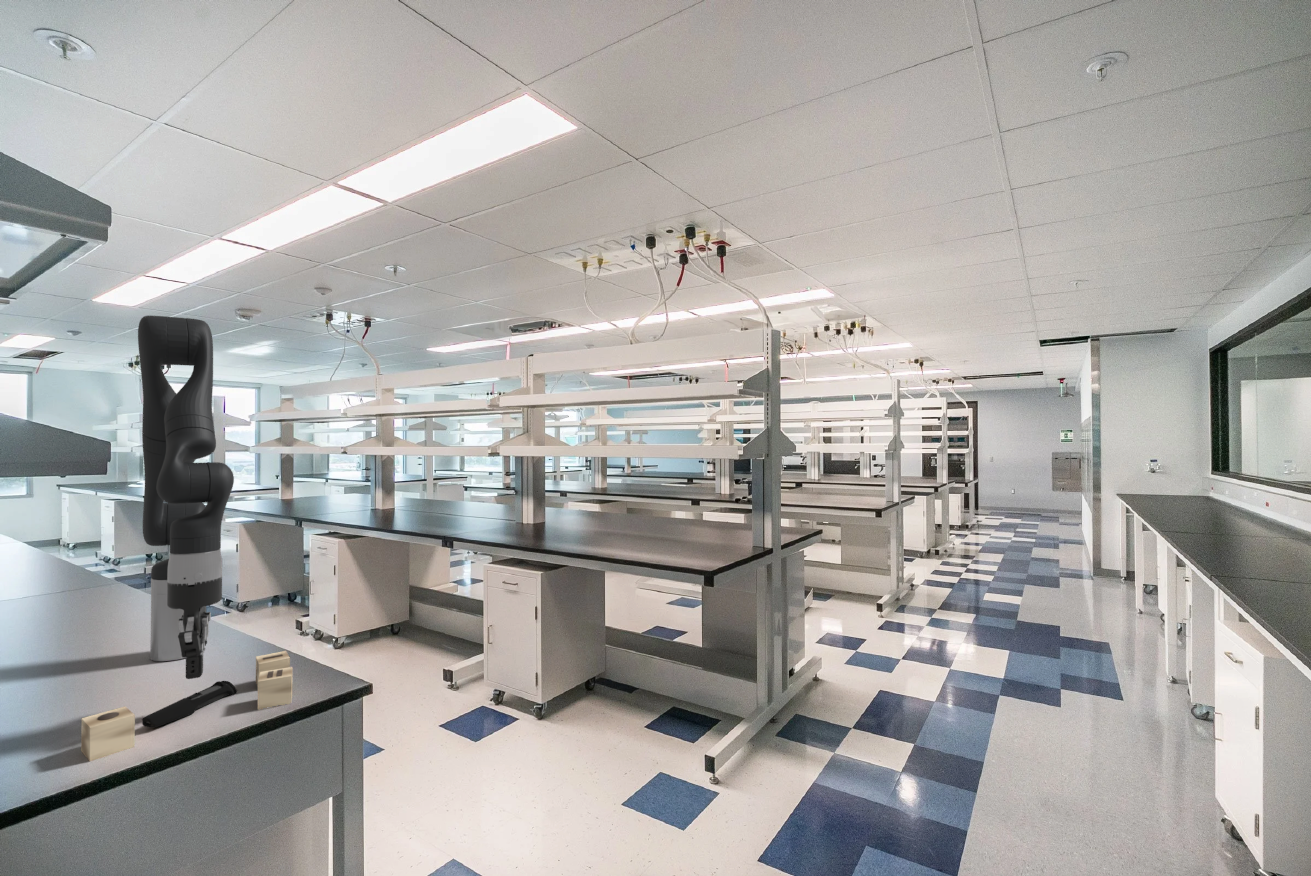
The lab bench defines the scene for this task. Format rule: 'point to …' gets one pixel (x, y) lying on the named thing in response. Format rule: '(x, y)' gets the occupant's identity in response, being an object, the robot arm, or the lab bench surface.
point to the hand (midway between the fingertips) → (194, 676)
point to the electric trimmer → (189, 704)
